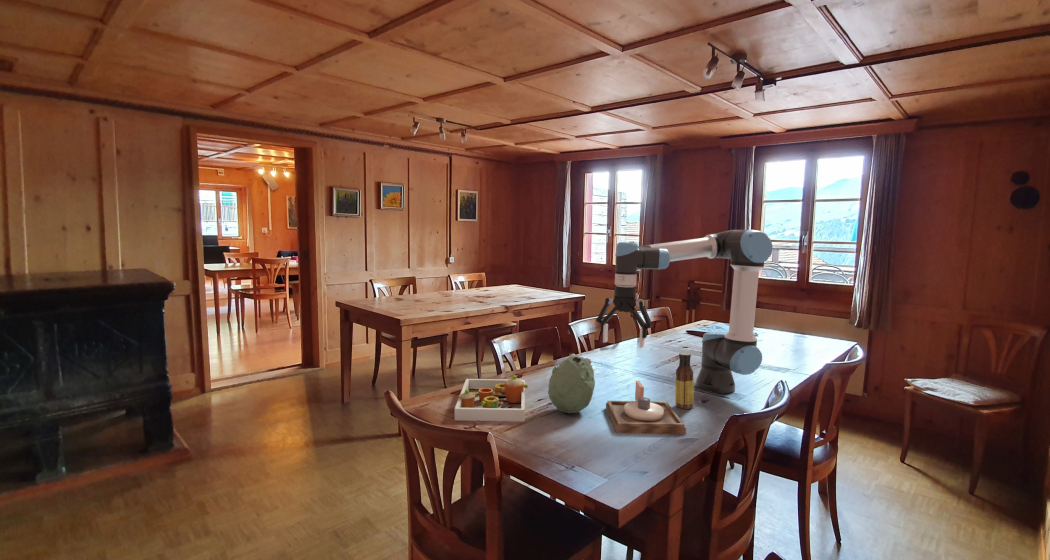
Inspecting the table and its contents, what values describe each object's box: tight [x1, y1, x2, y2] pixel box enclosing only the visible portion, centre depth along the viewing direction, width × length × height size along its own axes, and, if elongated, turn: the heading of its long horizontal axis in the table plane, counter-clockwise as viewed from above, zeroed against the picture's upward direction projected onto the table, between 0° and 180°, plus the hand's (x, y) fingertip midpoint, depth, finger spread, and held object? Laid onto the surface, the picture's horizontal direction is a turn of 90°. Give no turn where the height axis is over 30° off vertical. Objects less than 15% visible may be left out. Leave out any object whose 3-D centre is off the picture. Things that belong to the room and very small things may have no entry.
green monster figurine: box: [547, 353, 596, 414], centre depth 179 cm, size 16×19×20 cm
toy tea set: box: [458, 375, 529, 408], centre depth 186 cm, size 26×16×10 cm, turn 138°
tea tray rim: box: [454, 378, 526, 422], centre depth 187 cm, size 23×33×4 cm
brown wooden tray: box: [605, 400, 687, 435], centre depth 173 cm, size 22×22×3 cm
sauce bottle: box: [675, 352, 695, 410], centre depth 186 cm, size 7×6×20 cm
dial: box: [624, 380, 664, 421], centre depth 175 cm, size 18×13×8 cm
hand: (623, 344), depth 183 cm, fingers open, 13 cm apart
